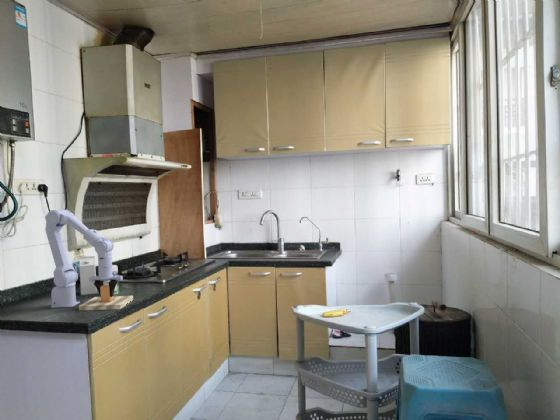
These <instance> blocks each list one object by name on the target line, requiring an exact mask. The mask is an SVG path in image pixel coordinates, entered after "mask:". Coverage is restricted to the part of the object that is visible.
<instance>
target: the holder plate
mask: <svg viewBox="0 0 560 420" xmlns="http://www.w3.org/2000/svg"><path fill="white" fill-rule="evenodd" d="M133 300H134V295H116V296H114V295H113V301H112V302H101V297H100V296H94V297H93V298H92V297H91V299H89V300H87V301H85V302H84V303H82V304H80V305H78V312H82V311H85V312H86V311H104V310H106V311H107V310H108V311H109V310H121V309H123V308H124V307H126V306H127V305H128V304H130V303H131V302H133ZM130 301H131V302H130ZM127 303H128V304H127ZM126 304H127V305H126Z"/></svg>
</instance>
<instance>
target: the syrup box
mask: <svg viewBox="0 0 560 420" xmlns="http://www.w3.org/2000/svg"><path fill="white" fill-rule="evenodd" d="M118 267H119V266H118V265H116V264H112V275H118V276H119V269H118ZM108 282H110V281H104V283H103V285H109V284H108ZM119 283H120V282H119V281H118V282H117V284H116V287H115V290H114V295H118V294H120V288H119V287H120V286H119Z"/></svg>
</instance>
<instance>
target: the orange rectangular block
mask: <svg viewBox="0 0 560 420" xmlns="http://www.w3.org/2000/svg"><path fill="white" fill-rule="evenodd" d="M100 293H101V302H112V301H113V296H114V295H113V296H112V297H110V288H109V285H102V286H100Z"/></svg>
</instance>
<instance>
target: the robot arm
mask: <svg viewBox="0 0 560 420" xmlns="http://www.w3.org/2000/svg"><path fill="white" fill-rule="evenodd" d="M44 218H45V221H46V223H45V233H46V236H47V241H48V244H49V247H50V251H51V255H52V259H53V262H54V265H55V268H54V270H53V284H54V285H55V286H54V287H52V289H51V293H50V294H51V295H50V296H51V306H50V308H52V309H54V308H55V309H56V308H72V307H75V306H77V305H79V304H80V303H81V302H80V301H77V294H76V284H77V283H76V282H77V281H78V278H79V274H78V272H77V271H76V270H75V268H74V266H73V265H72V264H70V262H69V257H68V254H67V252H66V248H65V244H64V241H63V238H62V234H61V230H62V229H63V227H64V226H66V225H67V226H70V227H72V228H73V229H74V230H76V232H79V233H80V234H81V235H83V236H82V237H83V239H84V240H85V241H86V243H88V244H90V245H91V246H92V247H93V248H94V250H95V252H96V255H97V265H98V275H96V276H93V277H89V282H91V281H95V283H94V285H95V286H96V289H97V292H98V295H99V297H101V293H100V286H102V285H103V283H104V281H110V282H108V284H109V288H110V297H112V296H114V295H115V294H114V290H115V287H116V284H117V282H118V283H119V281H123V278H124V277H123V275H119V274H118V275H112V265H113V261H112V260H113V258H112V251H113V250H114V243H113V241H112V240H110V239H106V237H104V236H102V235H101V234H99V232H98V230H97V229H93V228H91V229H89V227H87V226H86V225H85V224H84V223H83V222H81V221H80V219H78V217H76V216H75V214H74V212H73V213H72V212H71V211H70V210H69V209H65V208H64V209H51V210H49V211H48V212H47V214H46V215H45V216H44Z"/></svg>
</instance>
